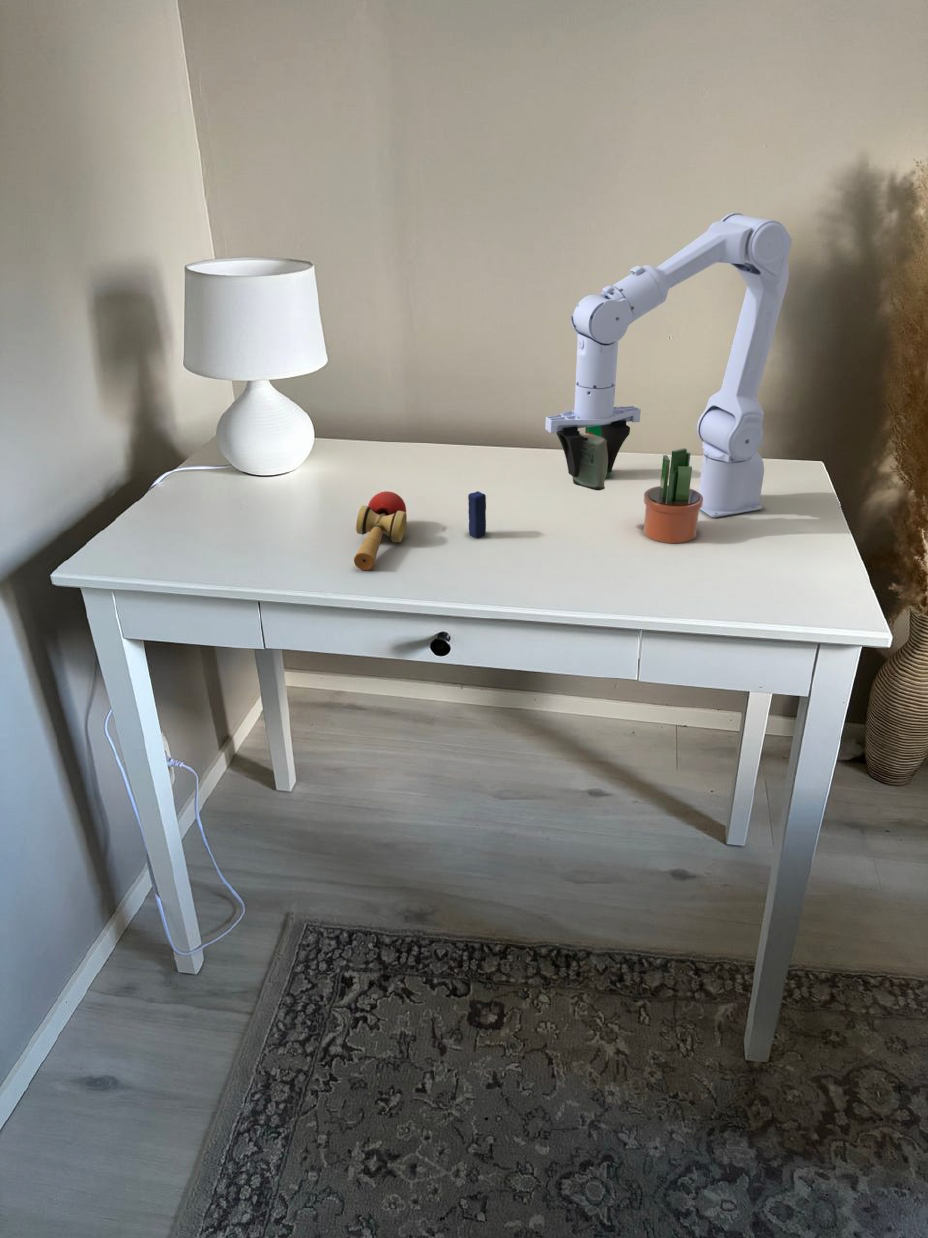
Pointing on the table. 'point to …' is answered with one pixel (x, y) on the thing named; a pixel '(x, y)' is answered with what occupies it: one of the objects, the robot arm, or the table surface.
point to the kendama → (379, 525)
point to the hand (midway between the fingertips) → (590, 472)
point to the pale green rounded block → (592, 462)
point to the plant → (673, 502)
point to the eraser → (477, 514)
